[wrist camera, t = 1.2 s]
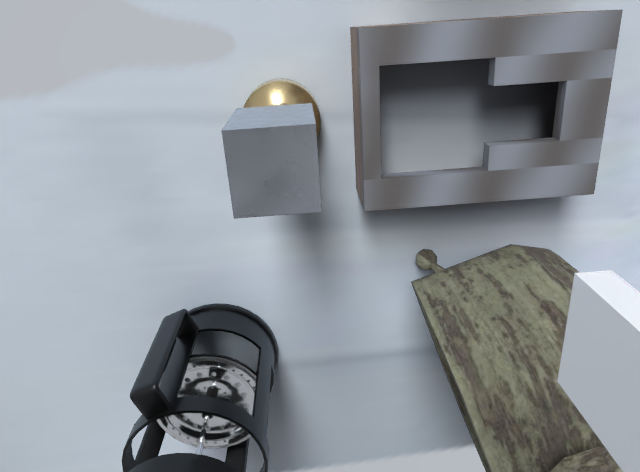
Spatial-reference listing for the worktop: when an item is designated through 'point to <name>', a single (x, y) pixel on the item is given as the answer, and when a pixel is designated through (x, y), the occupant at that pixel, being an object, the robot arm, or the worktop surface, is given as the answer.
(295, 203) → the headed peg
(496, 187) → the keyhole block
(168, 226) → the worktop surface
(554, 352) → the tabletop clock
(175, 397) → the french press
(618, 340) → the robot arm
